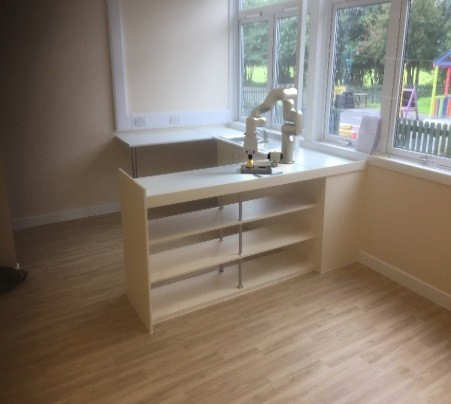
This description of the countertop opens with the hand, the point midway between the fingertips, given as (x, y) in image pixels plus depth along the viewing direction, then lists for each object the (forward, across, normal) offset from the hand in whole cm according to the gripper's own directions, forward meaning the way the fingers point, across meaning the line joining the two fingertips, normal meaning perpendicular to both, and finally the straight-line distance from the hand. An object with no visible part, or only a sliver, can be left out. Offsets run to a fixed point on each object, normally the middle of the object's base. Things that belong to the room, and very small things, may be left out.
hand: (250, 159), depth 308 cm
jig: (+8, +5, 0) cm, 10 cm away
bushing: (+9, 0, 0) cm, 9 cm away
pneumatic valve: (+9, +20, +18) cm, 28 cm away
